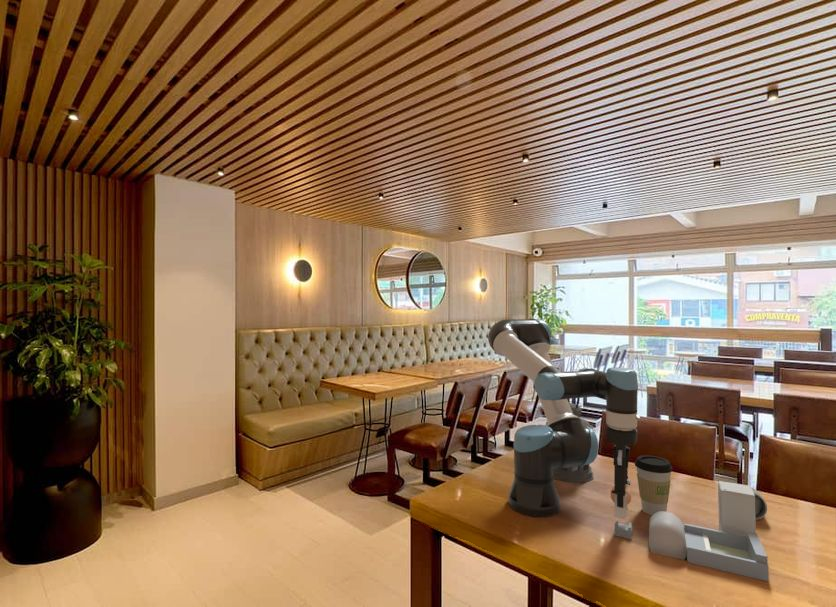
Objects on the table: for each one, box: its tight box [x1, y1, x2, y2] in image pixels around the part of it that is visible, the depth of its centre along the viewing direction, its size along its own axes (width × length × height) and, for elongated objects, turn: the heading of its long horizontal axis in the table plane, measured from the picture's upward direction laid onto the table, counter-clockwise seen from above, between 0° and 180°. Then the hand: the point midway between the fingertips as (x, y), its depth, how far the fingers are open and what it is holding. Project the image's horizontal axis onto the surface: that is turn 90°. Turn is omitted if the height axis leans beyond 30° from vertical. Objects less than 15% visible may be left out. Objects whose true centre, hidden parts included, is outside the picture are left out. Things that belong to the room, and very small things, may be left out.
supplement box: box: [717, 480, 757, 536], centre depth 111 cm, size 7×7×13 cm
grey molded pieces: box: [614, 511, 770, 582], centre depth 105 cm, size 31×13×8 cm, turn 60°
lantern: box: [544, 398, 595, 484], centre depth 154 cm, size 17×17×35 cm
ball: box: [610, 486, 632, 505], centre depth 112 cm, size 5×5×5 cm
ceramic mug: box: [751, 486, 768, 521], centre depth 123 cm, size 11×8×8 cm
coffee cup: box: [634, 454, 673, 516], centre depth 124 cm, size 10×10×15 cm
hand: (621, 513), depth 112 cm, fingers closed on ball, 5 cm apart
